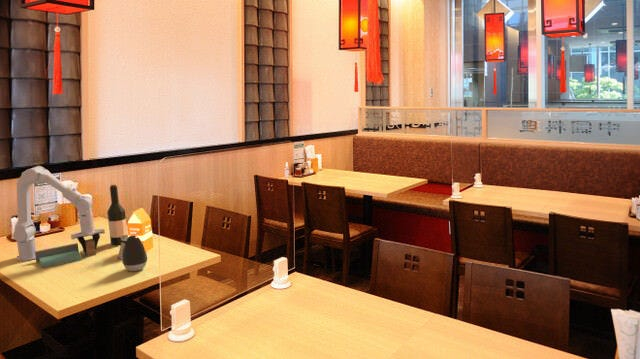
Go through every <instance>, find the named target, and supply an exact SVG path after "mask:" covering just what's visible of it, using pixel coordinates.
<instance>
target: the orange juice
mask: <svg viewBox="0 0 640 359" xmlns="http://www.w3.org/2000/svg"><path fill="white" fill-rule="evenodd" d="M126 225H127V235H128V237H129V236H131V235H135V236H137V237H139V239H140V240H141V242H142V243H143V245H144V248H145V250H146V253H147V252H149V251H150V250H152V249H153V248H154V241H153V228H152V219H151V217H150V215H148V214H147V212H146V211H145V209H144V208H143V207H141V208H138V209H137V210H134V211H132V214H131V216H130V218H129V219H128V222H126Z"/></svg>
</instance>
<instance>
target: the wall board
mask: <svg viewBox="0 0 640 359" xmlns="http://www.w3.org/2000/svg"><path fill="white" fill-rule="evenodd" d="M35 257H36V259H35V263H39V264H40V266H41V267H42V269H45V268H50V267H54V266H58V265H64V264H68V263H72V262H76V261H77V260H78V261H82V260H83V258H82V255H81V253H80V251H79V243H71V244H66V245H60V246H56V247H55V246H54V247H51V248H45V249H42V250H41V249H40V250H36V251H35ZM63 263H64V264H63Z"/></svg>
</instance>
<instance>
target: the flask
mask: <svg viewBox="0 0 640 359" xmlns="http://www.w3.org/2000/svg"><path fill="white" fill-rule="evenodd" d="M127 235H128V234H127ZM127 235H123V236H121V237H120V238H121V240H127V237H128V236H127ZM124 244H125V243H121V245H120V247H119V251H118V255H117V259H121V260H122V254H123V248H124Z"/></svg>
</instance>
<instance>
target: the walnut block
mask: <svg viewBox="0 0 640 359" xmlns="http://www.w3.org/2000/svg"><path fill="white" fill-rule="evenodd" d="M85 247H86V252H84V255H85V256H86V257H92V256H97V250H96V249H95V241H94V240H93V238H89V239H85Z"/></svg>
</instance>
